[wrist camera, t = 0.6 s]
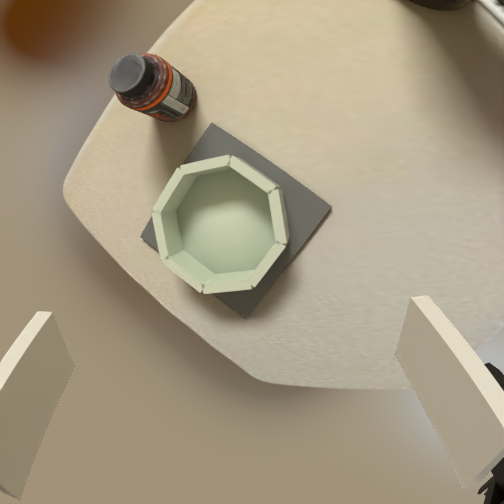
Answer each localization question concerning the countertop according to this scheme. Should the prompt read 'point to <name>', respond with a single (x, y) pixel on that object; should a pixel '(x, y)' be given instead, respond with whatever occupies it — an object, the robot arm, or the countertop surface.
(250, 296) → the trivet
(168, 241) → the bowl
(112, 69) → the supplement bottle
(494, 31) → the countertop surface
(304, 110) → the countertop surface
